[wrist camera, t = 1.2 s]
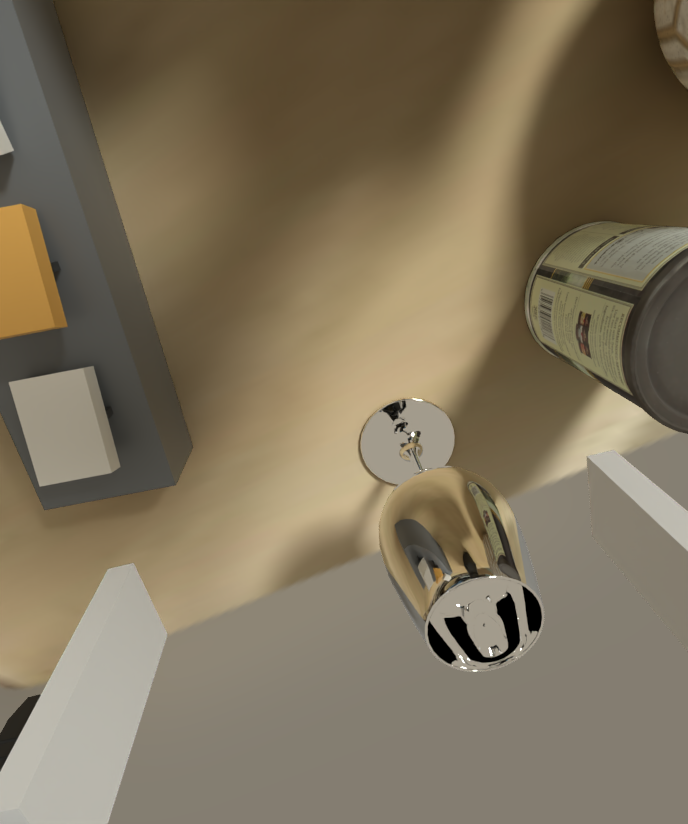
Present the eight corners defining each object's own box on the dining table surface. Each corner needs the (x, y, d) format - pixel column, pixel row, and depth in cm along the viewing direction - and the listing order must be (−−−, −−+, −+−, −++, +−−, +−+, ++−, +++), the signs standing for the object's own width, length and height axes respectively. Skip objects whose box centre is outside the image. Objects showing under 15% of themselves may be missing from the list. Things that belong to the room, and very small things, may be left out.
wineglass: (401, 376, 41) (481, 523, 22) (475, 431, 43) (605, 608, 24) (338, 451, 43) (363, 644, 24) (412, 501, 45) (488, 713, 26)
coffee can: (683, 308, 40) (864, 359, 27) (562, 386, 42) (678, 471, 29) (626, 187, 37) (802, 180, 24) (497, 278, 39) (595, 318, 26)
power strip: (-168, -126, 28) (-305, -221, 22) (2, -159, 28) (-86, -264, 22) (77, 469, 42) (35, 517, 35) (193, 447, 42) (172, 491, 35)
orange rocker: (-44, 224, 29) (-63, 219, 28) (35, 209, 29) (21, 203, 28) (-9, 341, 30) (-25, 342, 29) (68, 326, 30) (55, 326, 29)
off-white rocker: (21, 379, 33) (8, 382, 31) (93, 365, 33) (82, 368, 31) (51, 479, 34) (39, 486, 32) (120, 466, 34) (111, 473, 32)
